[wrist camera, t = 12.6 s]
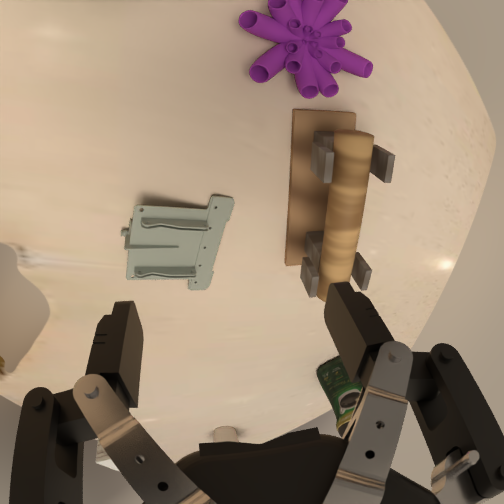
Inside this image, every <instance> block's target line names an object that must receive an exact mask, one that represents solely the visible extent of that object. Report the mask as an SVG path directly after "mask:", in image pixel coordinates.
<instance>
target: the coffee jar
mask: <svg viewBox="0 0 504 504" xmlns="http://www.w3.org/2000/svg"><path fill="white" fill-rule="evenodd" d="M317 377H318V379H319V382H320V384H321V386H322V388H323V390H324V392H325V394H326V396H327V397H328V399H329V401H330V403H331V406H332V408H333V410H334V413H335V415H336V418H337V424H336V427H337V431H338V432H339V434H340V436H341V437H343V435H344V432H345V430H346V428H347V426H348V424H349V421H350V419H351V416H352V414H353V411H354V409H355V406H356V403H357V400H358V398H359V395H360V392H361V389H362V387H363V385H362V382H361V381H359V382H355V383H352V382H351V380H350V378H349V375H348V373H347V371H346V369H345V366H344V364H343V362H342V359H341V357H338V358H336V359H334V360H332V361H330V362H328V363H326V364H324V365H323V366H321V367H320V368H319V370H318V371H317Z"/></svg>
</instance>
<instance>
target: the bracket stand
mask: <svg viewBox="0 0 504 504" xmlns="http://www.w3.org/2000/svg"><path fill="white" fill-rule="evenodd" d="M355 123H356V114H355V113H353V112H340V111H325V110H303V109H293V114H292V140H291V162H290V183H289V201H288V218H287V234H286V249H285V264H286V266H293V265H302V266H301V275H300V278H301V280H302V282H303V284H304V286H305V289H306V291H307V293H308V295H309V298H310V297H316V293H317V287H318V281H319V275H318V272H319V265H320V259H321V251H322V244H323V237H324V229H325V221H326V213H327V204H328V195H329V186H330V183H331V182H332V172H333V162H334V152H333V144H334V131H335V130H338V129H348V130H355ZM394 160H395V155H394V154H392V153H390V152H389V151H387V150H385V149H383V148H381V147H380V146H378V145H373V150H372V158H371V166H370V172H371V173H372V174H373V175H375V176H376V177H377V178H379V179H380V180H381V181H383V182H384V183H391V179H392V173H393V167H394ZM371 272H372V269H371V268H370V267H369V265H368V264H367V263H366V261H365V260H364V259H363V257H362V256H361V255H360V253H359V252H356V254H355V259H354V263H353V268H352V273H351V275H352V277H353V278H354V280H355V282H356V283H357V285H358V286H359V288H360V289H361V291H363V290H367V288H368V284H369V280H370V276H371Z"/></svg>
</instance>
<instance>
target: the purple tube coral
mask: <svg viewBox="0 0 504 504" xmlns="http://www.w3.org/2000/svg"><path fill="white" fill-rule="evenodd" d="M347 2H348V0H303V1H302V0H269V1H268V8H269V11H270V13H271V15H272V17H273V18H271V17H269V16H267V15H264V14H262V13H259V12H256V11H253V10H248V11H245V12H243V13H242V14H241V15H240V17H239V25H240V26H241V27H242V28H243V29H244V30H246V31H247V32H249V33H251V34H254V35H256V36H259V37H261V38H264V39H267V40H270V41H273V42H277V43H279V44H278V45H276V46H274V47H273V48H271V49H270V50H268V51H267V52H266V53H264V54H263V55H262V56H260V57H259V58H258V59H257V60H256V61H255V62H254V63H253V64H252V66H251V68H250V70H249V73H250V77H251V78H252V79H253V80H254V81H256V82H258V83H264V82H267V81H268V80H269V79H271V78H272V77H273V76H275V75H276V74H277V73H278V72H280V71H281V70H282V69H283V68H286V70H287V71H288V72H290V73H294V75H295V80H296V84H297V88H298V90H299V92H300V94H301V95H302V96H303V97H304V98H308V99H310V98H314V97H315V96H317V94H318V92H319V91H320V93H321V94H322V95H323V96H325V97H332V96H334V95H336V94H337V92H338V90H339V87H338V85H337V83H336V81H335V80H334V78H333V76H332V75H331V73H334V74H335V73H338V72H339V71H340V70H341V69H342V70H344V71H346V72H349V73H351V74H354V75H357V76H359V77H363V78H367V77H369V76H370V74H371V72H372V69H373V64H372V62H370V61H369V60H367V59H365V58H363V57H361V56H359V55H357V54H355V53H353V52H350V51H348V50H346V49H344V48H343V47H344V46H345V40H344V39H343V38H342V37H339V36H341V35H344V34H347V33H349V32H350V31H351V30H352V26H351V24H350V22H349V21H348V20H345V19H343V20H337V21H333V22H331V21H332V20H333V18H334V17H335V16H336V15H337V14H338V13H339V12H340V11H341V10H342V9H343V7H344V6H345V5H346V4H347Z"/></svg>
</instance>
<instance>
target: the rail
mask: <svg viewBox="0 0 504 504" xmlns="http://www.w3.org/2000/svg"><path fill="white" fill-rule="evenodd" d="M373 142H374V136H373V135H371V134H369V133H365V132H361V131H356V130H348V129H338V130H335V131H334V144H333V152H334V162H333V172H332V182H331V183H330V186H329V195H328V204H327V213H326V221H325V229H324V237H323V244H322V251H321V259H320V265H319V272H318V275H319V281H318V287H317V293H316V295H317V297H318V298H319V299H321V300H322V301H324V302H326V298H327V293H328V288H329V285H330V283H336V282H344V281H348V282H350V277H351V273H352V268H353V263H354V259H355V254H356V249H357V244H358V239H359V233H360V228H361V223H362V217H363V211H364V205H365V199H366V193H367V187H368V180H369V173H370V166H371V158H372V150H373Z"/></svg>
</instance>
